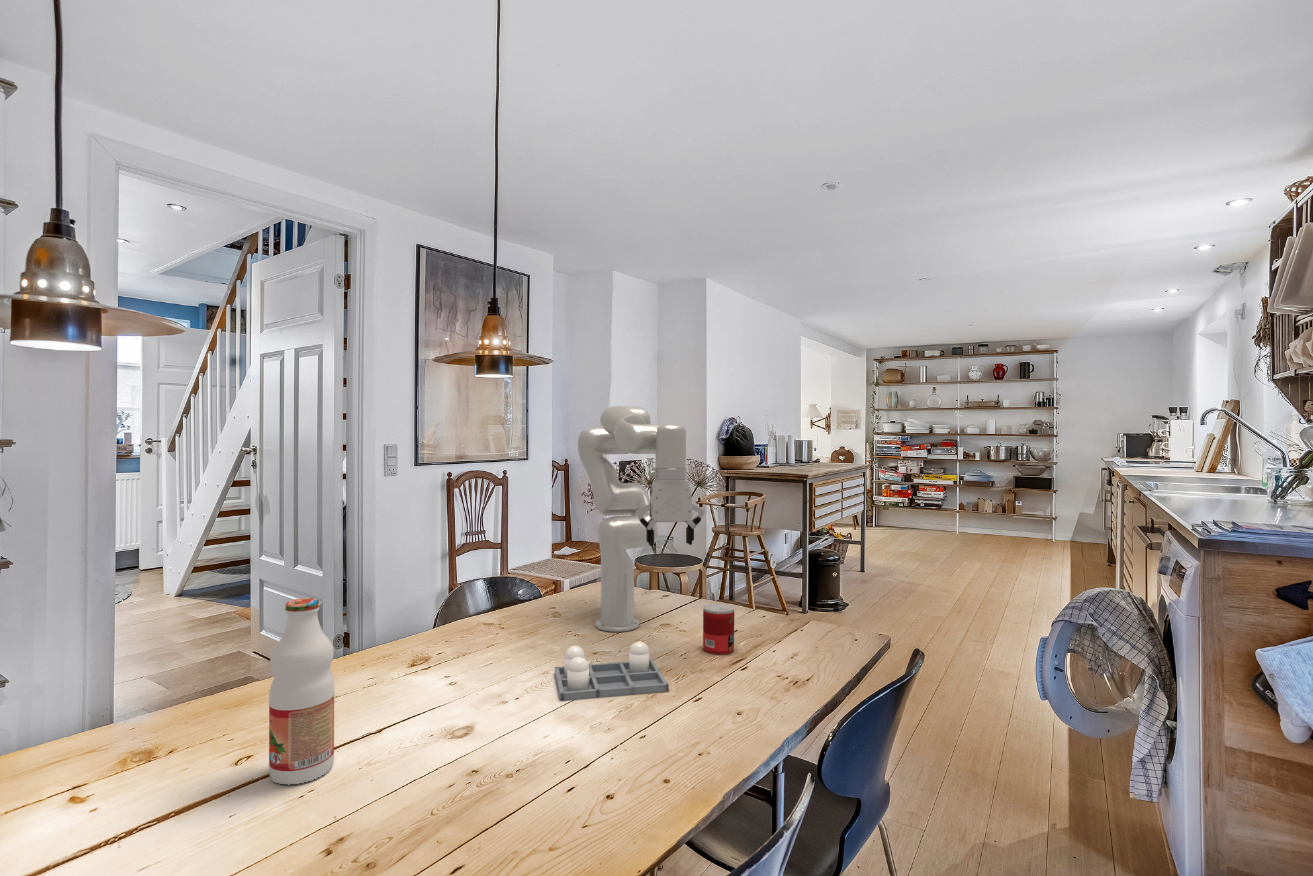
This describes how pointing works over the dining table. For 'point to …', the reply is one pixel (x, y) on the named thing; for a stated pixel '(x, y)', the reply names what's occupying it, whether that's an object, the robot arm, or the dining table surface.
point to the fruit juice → (301, 698)
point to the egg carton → (613, 681)
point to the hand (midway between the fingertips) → (670, 544)
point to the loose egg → (638, 657)
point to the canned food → (718, 628)
